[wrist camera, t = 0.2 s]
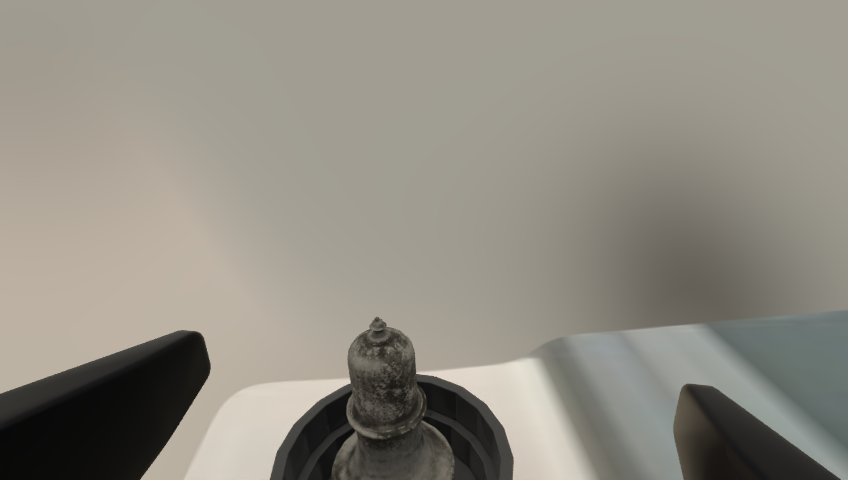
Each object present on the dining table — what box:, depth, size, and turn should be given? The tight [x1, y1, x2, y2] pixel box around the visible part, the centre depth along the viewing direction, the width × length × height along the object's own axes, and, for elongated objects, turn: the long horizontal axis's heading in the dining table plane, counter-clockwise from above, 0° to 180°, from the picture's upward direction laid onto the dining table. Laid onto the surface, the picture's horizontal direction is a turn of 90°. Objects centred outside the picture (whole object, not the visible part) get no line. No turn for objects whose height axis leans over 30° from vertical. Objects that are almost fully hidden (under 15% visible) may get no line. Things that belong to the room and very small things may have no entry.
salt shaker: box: [332, 317, 455, 480], centre depth 20 cm, size 6×6×12 cm
